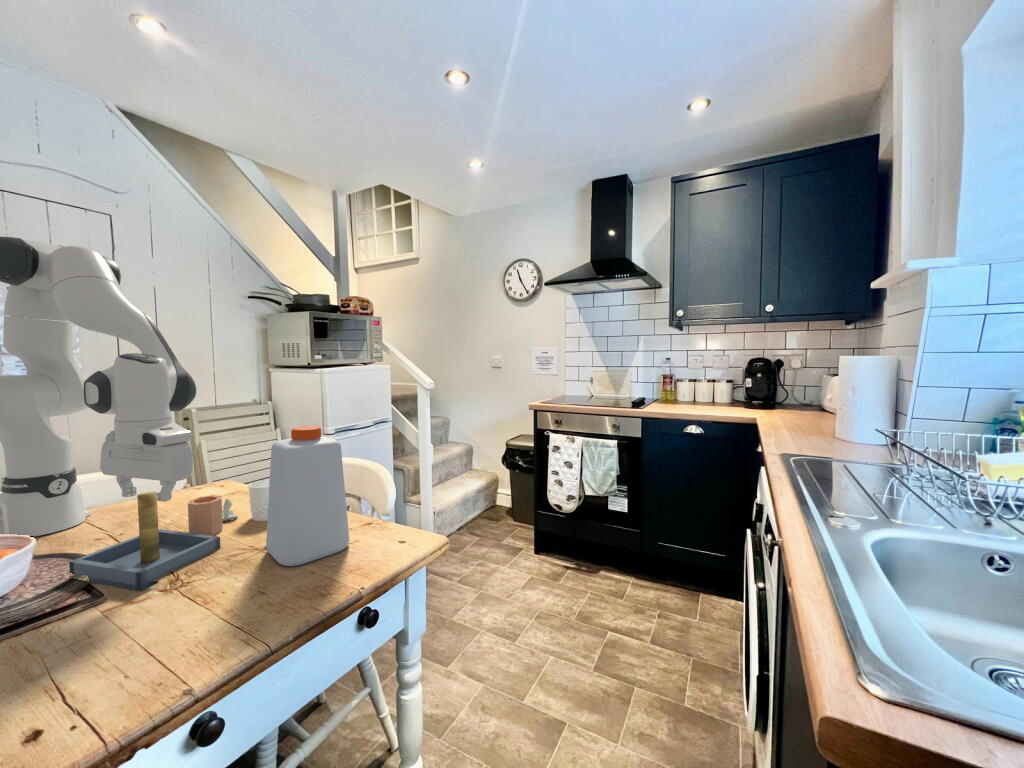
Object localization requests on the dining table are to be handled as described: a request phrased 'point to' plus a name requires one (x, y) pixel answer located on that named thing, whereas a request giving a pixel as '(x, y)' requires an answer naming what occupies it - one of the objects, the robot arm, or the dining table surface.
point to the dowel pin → (148, 527)
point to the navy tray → (125, 564)
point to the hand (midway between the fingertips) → (146, 498)
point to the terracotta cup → (205, 515)
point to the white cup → (259, 499)
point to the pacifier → (227, 511)
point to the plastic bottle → (306, 498)
